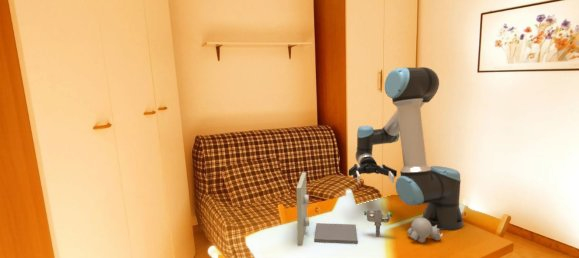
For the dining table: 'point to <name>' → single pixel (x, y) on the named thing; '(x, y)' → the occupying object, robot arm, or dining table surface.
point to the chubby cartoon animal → (423, 230)
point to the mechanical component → (377, 218)
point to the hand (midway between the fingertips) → (376, 179)
